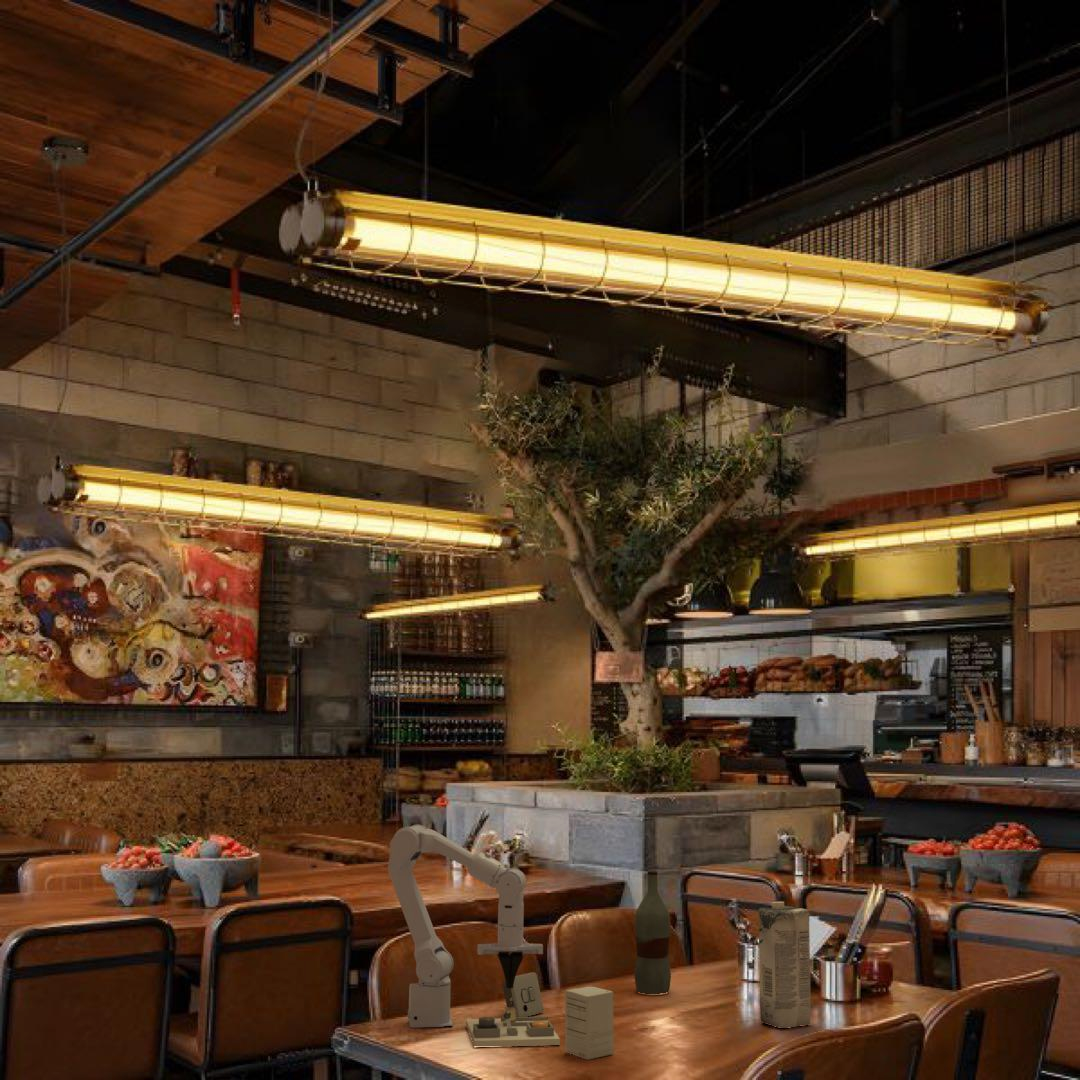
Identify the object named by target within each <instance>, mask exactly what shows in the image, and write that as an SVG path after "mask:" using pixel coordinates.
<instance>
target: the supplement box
mask: <svg viewBox="0 0 1080 1080" xmlns="http://www.w3.org/2000/svg"><path fill="white" fill-rule="evenodd" d="M564 999H565V1001H564V1002H565V1004H564V1005H565V1008H564V1010H565V1014H564V1017H565V1020H564V1022H565V1026H564V1028H565V1033H564V1034H565V1036H564V1037H565V1038H564V1039H565V1043H564V1044H565V1045H564V1046H565V1047H564V1049H565V1053H566V1052H567V1053H566V1054H568V1053H570V1054H569V1055H571V1054H573V1055H572V1056H574V1055H575V1056H574V1057H577V1056H578V1058H580V1057H581V1059H584V1060H587V1061H588V1060H592V1059H596V1058H600V1057H601V1058H602V1057H605V1056H607V1057H608V1056H611V1055H614V1053H615V1052H614V1050H615V1048H614V1045H615V1044H614V1042H615V1041H614V1039H615V1038H614V991H611V990H607V989H604V988H599V987H595V986H593V985H592V986H585V987H581V988H580V987H579V988H573V989H567V990H565V998H564Z"/></svg>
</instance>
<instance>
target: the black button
mask: <svg viewBox="0 0 1080 1080" xmlns="http://www.w3.org/2000/svg"><path fill="white" fill-rule="evenodd" d="M478 1019H479V1027H480V1028H494V1027H495V1019H496V1018H495V1017H492V1016H483V1017H479V1018H478Z"/></svg>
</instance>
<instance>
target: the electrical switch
mask: <svg viewBox="0 0 1080 1080" xmlns="http://www.w3.org/2000/svg"><path fill="white" fill-rule="evenodd" d="M502 988H503V989H502V990H503V993H504V997H505V998H504V999H505V1004H506V1007H514V1008H515V1010H516V1016H515V1017H528V1016H529V1017H533V1016H537V1015H539V1013H540V1014H543V1013H544V1011H545V1010H544V1003H543V998H542V994H541V988H540V985H539V979H538V974H537V973H536V971H535V972H534V971H533V972H528V973H523V974H520V975H516V976H515V980H514V985H513V988H506V981H505V982H502ZM536 1014H537V1015H536ZM532 1015H533V1016H532Z"/></svg>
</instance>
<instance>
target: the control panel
mask: <svg viewBox="0 0 1080 1080" xmlns="http://www.w3.org/2000/svg"><path fill="white" fill-rule="evenodd" d="M534 1021H546V1022H548V1027H542V1028H532V1022H534ZM466 1026H467V1027H466ZM465 1027H466V1029H467V1028H468V1030H467V1032H468V1031H469V1033H470V1035H469V1037H470V1036H471V1038H472V1040H471V1042H472V1041H473V1043H472V1045H473V1044H474V1045H473V1047H474V1046H536V1045H560V1046H561V1039H560V1036H559V1035H558V1034H557V1032H556V1030H555V1028H554V1027H555V1026H553V1024H552V1021H550V1020H549V1017H548V1016H529V1017H516V1016H515V1022H511V1028H512V1030H508V1028H507V1023H506V1022H505V1018H504V1017H500V1018H495V1027H494V1028H480V1027H479V1018H469V1019H467V1018H466V1019H465ZM469 1033H468V1034H469ZM471 1038H470V1039H471Z"/></svg>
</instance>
